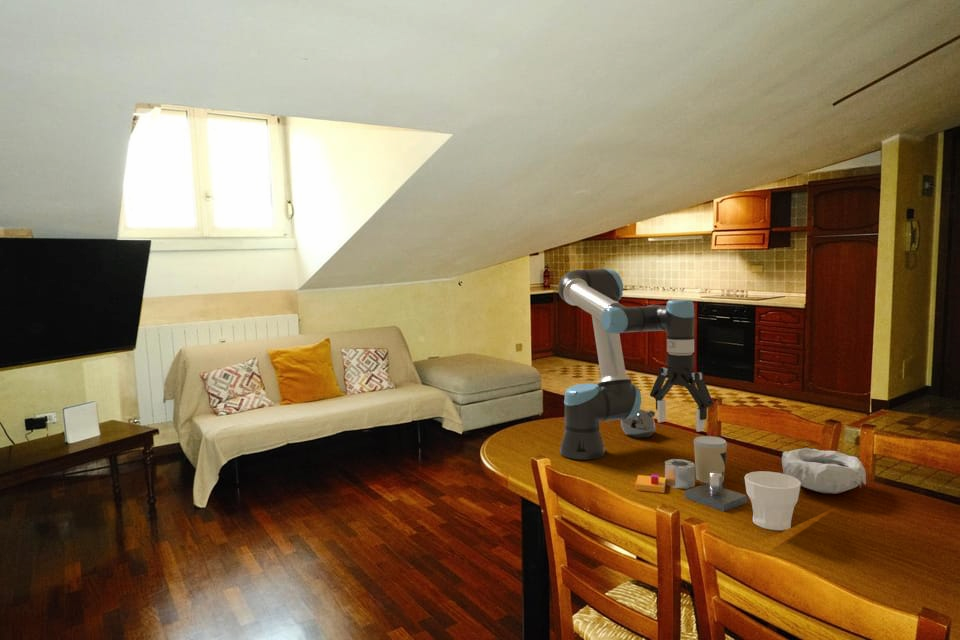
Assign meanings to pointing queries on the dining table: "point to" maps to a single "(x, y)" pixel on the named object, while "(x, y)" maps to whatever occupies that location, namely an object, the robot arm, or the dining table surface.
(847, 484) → the bowl
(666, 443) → the dining table surface
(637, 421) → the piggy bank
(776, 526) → the cup
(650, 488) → the push button box
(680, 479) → the block
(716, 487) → the shaft block
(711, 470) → the coffee cup
